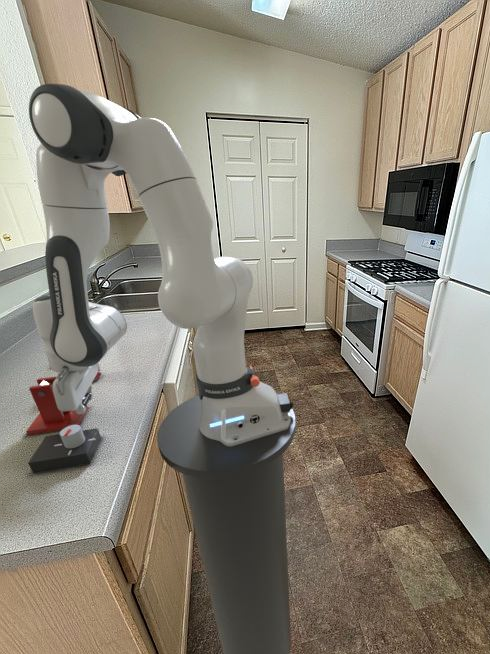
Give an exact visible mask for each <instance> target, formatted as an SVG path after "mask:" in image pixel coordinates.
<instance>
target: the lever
mask: <svg viewBox="0 0 490 654" xmlns="http://www.w3.org/2000/svg"><path fill="white" fill-rule="evenodd" d="M47 384H52V387H53V383H50V382H47V381H42V383H41V384H40V385H47ZM91 397H92V395H91V394H90V393H87V394H86V395H85V397H84V398H83V399H82V404H83V405H85V407H86V406H87V407H88V404H89V403H90V401H91V400H90V398H91Z"/></svg>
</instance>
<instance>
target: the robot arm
mask: <svg viewBox="0 0 490 654" xmlns="http://www.w3.org/2000/svg"><path fill="white" fill-rule="evenodd" d="M28 116H29V121H30V125H31V129H32V131H33V133H34V135H35V137H36V138H37V139H38V141H39V142H40V145H39V146H38V147H37V148H36V153H35V155H36V156H35V157H36V159H35V161H36V176H37V183H38V184H37V185H38V191H39V196H40V201H41V206H42V210H43V215H44V221H45V229H46V230H45V231H46V243H45V252H44V253H45V254H44V257H45V258H44V259H45V271H46V278H47V285H48V286H47V287H48V293H46V294H43V295H41V296H39V297H37V298H35V300H34V301H33V302H32V314H33V319H34V323H35V326H36V330H37V332H38V335H39V337H40V338H41V339H42V340H43V342H44V343H43V344H44V352H45V355H46V358H47V360H48V361H47V362H48V364H49V366H50V369H51V370H52V372H55V373H57V374H56V376H55V377H56V379H55V381H54V382H53V393H54V397H55V401H56V404H57V408H58V409H59V410H60V411H62V412H64V411H73V410H76V412H77V414H84V413H85V411H86V407H85V405H83V404H82V399H83V398H84V397H85V395H86V394H87V393H90V394H91V395H92V397H91V398H90V400H89V401H92V399H93V398H94V393H93V382H94V381H95V380H94V378H95V376H96V374H97V373H98V364H99V363H100V361H101V360H102V358H104V356H105V355H106V354H107V352H108V351H110V350H111V349H112V348H113V347H114V346H115V345H116V344H118V342H119V341H120V340H121V339H122V338H123V337H124V336H125V335H126V333H127V329H128V323H127V320H126V319H125V317H124V315H123V313H121V311H120V310H118V309H117V308H116V307H114V306H112V305H108V304H99V303H95V302H91V301H89V293H88V286H87V285H88V283H87V282H88V281H87V280H88V274H89V270H90V268H91V267H92V264H93V263H94V261H95V260H96V258H97V257H98V255H100V253H101V252H102V251H103V250H104V249H105V248H106V246H107V245H108V243H109V241H110V234H111V233H110V232H111V224H110V223H111V222H110V214H109V209H108V203H107V198H106V193H105V192H106V190H105V181H106V179H107V177H108V176H109V175H110V174H113V176H116V177H121V176H125V175H127V176H128V178H129V180H130V182H131V184H132V186H133V188H134V190H135V193H136V195H137V197H138V200H139V201H140V204H141V206H142V208H143V211H144V213H145V215H146V217H147V219H148V221H149V224H150V227H151V229H152V231H153V233H154V236H155V239H156V242H157V245H158V249H159V254H160V259H161V260H160V261H161V268H162V271H161V272H162V277H161V282H160V285H159V288H158V292H157V302H158V306H159V309H160V311H161V313H162V315H163V317H165V319H166V320H167V321H169V322H170V324H172V325H174V326H175V327H177V328H179V329H183V330H184V329H185V330H191V329H196V328H197V330H196V333H195V335H194V338H193V342H192V351H193V357H194V363H195V369H196V374H195V384H196V390H197V391H196V392H197V395H199V398H200V400H201V417H200V423H199V429H200V431H201V433H202V434H203V435H204V436H206V437H208V438H210V439H213V440H217V441H220V442H222V443H223V444H224V445H226V446H229V447H231V446H235V445H238V444H241V443H245V442H248V441H251V440H254V439H258V438H261V437H264V436H267V435H271V434H274V433H277V432H280V431H283V430H286V429H288V427H289V426H290V422H291V418H290V412H289V411H290V410H291V409H293V408H294V403H293V402H292V401H291V400H290V399H289V396H288V393H287V392H285V393H277V392H276V391H275V389H274V388H273V387H272V386H271V385H269V384H267V383H264V382H262V381H260V379H259V377H258V376H257V375H256V371H255V370H254V369H253V367H252V365H249V367H248V366H247V362H246V348H245V329H246V322H247V321H246V320H247V313H248V304H249V303H248V302H249V298H250V294H251V291H252V288H253V284H254V277H253V273H252V271H251V269H250V267H249V266H248V264H247V263H246V262H245V261H243V260H242V259H240V258H237V257H232V256H218V257H215V256H214V251H213V244H212V232H213V229H214V219H213V217H212V214H211V212H210V209H209V207H208V204H207V202H206V200H205V196H204V195H203V192H202V190H201V187H200V183H199V182H198V180H197V176H196V174H195V172H194V170H193V168H192V165H191V164H190V161H189V158H188V157H187V155H186V153H185V151H184V149H183V147H182V146H181V144H180V142H179V140H178V139H177V137H176V135H175V134H174V132H173V131H172V129H171V128H170V126H168V125H167V124H166V123H165V122H164V121H163V120H160V119H157V118H154V117H140V115H138V114H137V113H136V112H134V111H132V110H130V109H129V108H126V107H122V106H120V105H119V104H117V103H115V102H113V101H111V100H109V99H107V98H105V97H104V96H101V95H98V94H95V93H93V92H89V91H85V90H80V89H77V88H76V87H74V86H71V85H68V84H64V83H44V84H41V85H39V86H37V87H36V88H35V89H34V90H33V92H31V96H30V98H29V101H28ZM97 363H98V364H97ZM93 380H94V381H93ZM86 412H87V411H86ZM85 414H86V413H85Z"/></svg>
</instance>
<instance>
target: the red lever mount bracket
mask: <svg viewBox="0 0 490 654" xmlns="http://www.w3.org/2000/svg"><path fill="white" fill-rule="evenodd" d="M55 379H56V376H48V377H41V378H40V377H39V378H37V380H36V383H37V385H32V386H31V385H30V387H29V388H28V389H29V392H30V394H31V396H32V398H33V401H34V403H35V405H36V408H37V410H38V412H39V413H38V415H37V416H36V418H35V419H34V420H33V421H32V423H31V424H30V425H29V427H28V428H27V430H26V435H27V436H31V435H32V436H33V435H37V434H44V433H52V432H58V431H59V432H60V431H61V430H62V429H64V428H65V427H68V426H71V425H80V424H81V422H82V420H83V418H84V417H85V414H86V412H87V411H88V409H89V407H88V405H87V406H86V411H85V413H84V414H77V412H76V410H73V411H64V412H62V411H60V410H59V409H58V408H57V404H56V401H55V397H54V393H53V387H52V384H47V385H40V384H41V383H42V381H47V382H50V383H53V382H54V381H55Z"/></svg>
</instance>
